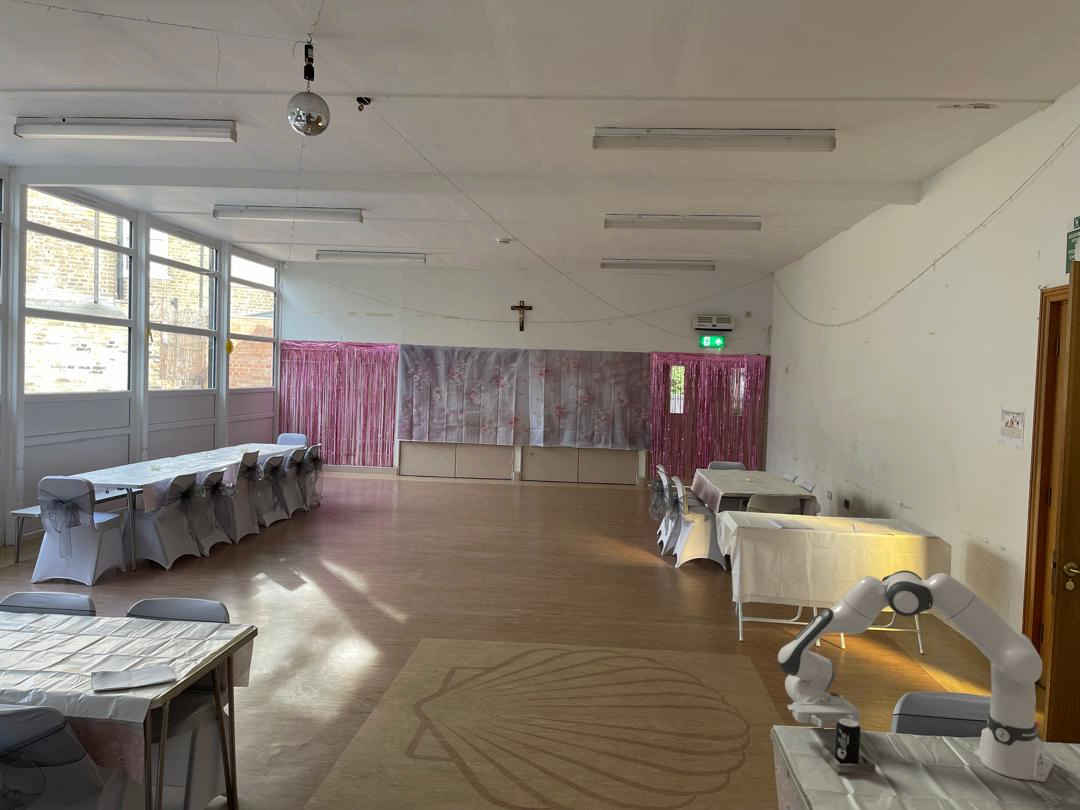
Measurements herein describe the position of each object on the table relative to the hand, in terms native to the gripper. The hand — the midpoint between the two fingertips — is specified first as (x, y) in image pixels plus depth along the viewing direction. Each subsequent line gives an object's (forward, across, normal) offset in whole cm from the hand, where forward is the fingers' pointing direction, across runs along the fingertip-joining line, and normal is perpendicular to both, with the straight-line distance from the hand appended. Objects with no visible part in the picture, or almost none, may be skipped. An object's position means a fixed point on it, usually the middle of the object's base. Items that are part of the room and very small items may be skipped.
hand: (838, 725), depth 218 cm
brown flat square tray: (+6, 0, +9) cm, 11 cm away
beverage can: (+6, 0, +8) cm, 10 cm away
